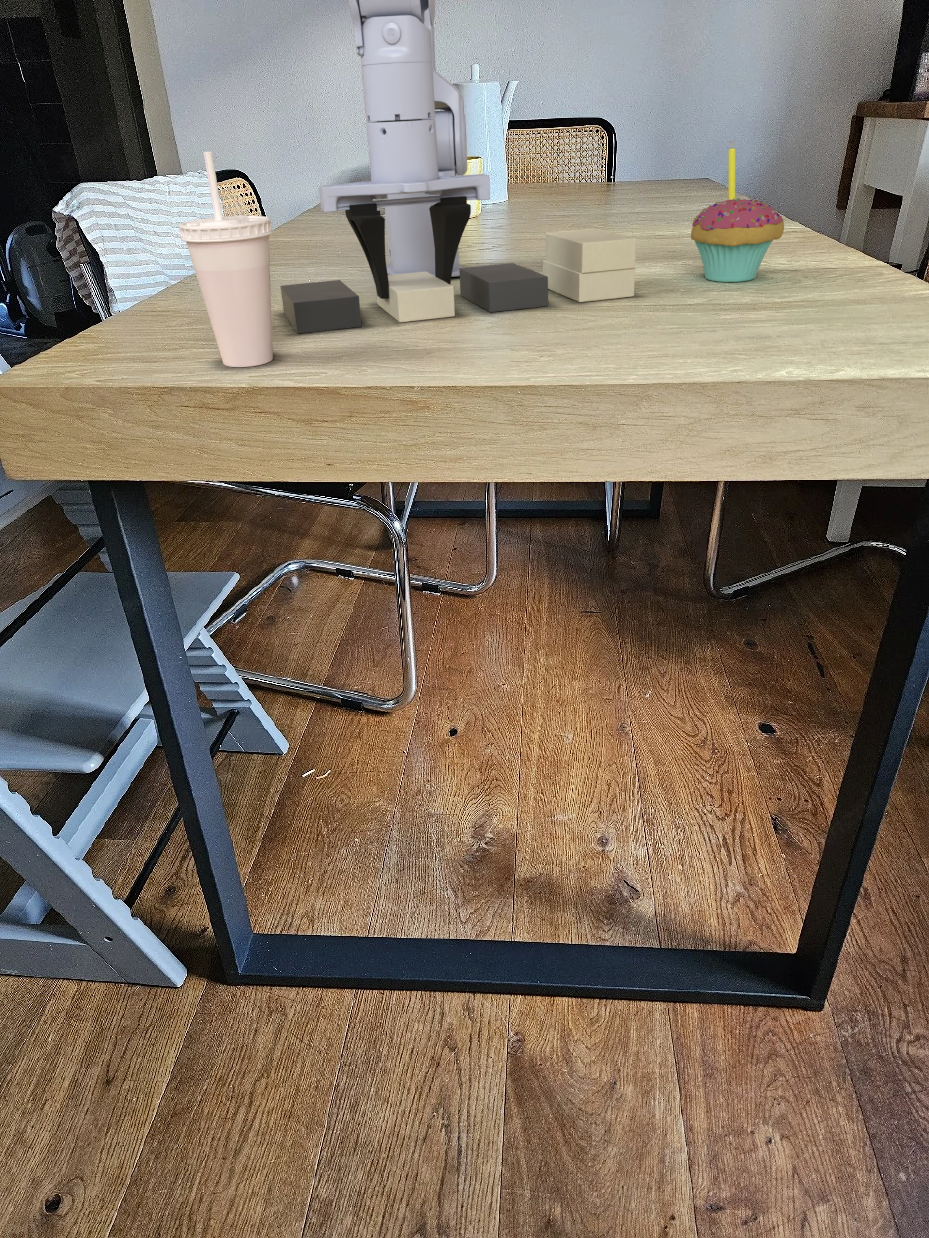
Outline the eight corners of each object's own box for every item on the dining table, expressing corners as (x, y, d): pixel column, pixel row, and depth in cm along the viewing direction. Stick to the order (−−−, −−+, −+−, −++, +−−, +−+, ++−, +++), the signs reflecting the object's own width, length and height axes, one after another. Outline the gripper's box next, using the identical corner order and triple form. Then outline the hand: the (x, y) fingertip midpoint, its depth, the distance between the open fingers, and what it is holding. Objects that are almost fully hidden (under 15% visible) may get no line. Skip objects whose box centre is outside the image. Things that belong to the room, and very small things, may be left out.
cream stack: (542, 287, 88) (542, 232, 85) (593, 281, 89) (595, 227, 86) (579, 303, 80) (581, 243, 77) (635, 296, 81) (638, 238, 79)
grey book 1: (284, 314, 82) (280, 285, 80) (343, 307, 83) (339, 279, 82) (297, 333, 74) (293, 302, 73) (362, 326, 75) (358, 295, 74)
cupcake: (669, 277, 89) (678, 141, 83) (737, 267, 92) (751, 136, 86) (725, 289, 82) (739, 143, 76) (796, 279, 85) (815, 137, 79)
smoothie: (186, 367, 66) (143, 155, 59) (243, 347, 71) (209, 149, 63) (253, 375, 63) (217, 153, 56) (308, 353, 68) (280, 147, 61)
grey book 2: (460, 295, 86) (459, 268, 84) (514, 290, 87) (513, 262, 86) (490, 312, 78) (489, 282, 77) (548, 306, 79) (548, 276, 78)
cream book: (377, 304, 84) (374, 276, 82) (428, 299, 85) (426, 271, 84) (399, 322, 76) (397, 292, 75) (455, 316, 77) (453, 286, 76)
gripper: (321, 126, 68) (341, 310, 75) (499, 116, 71) (503, 293, 78) (307, 125, 74) (327, 296, 81) (473, 116, 77) (479, 280, 84)
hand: (413, 294), depth 80 cm, fingers closed on cream book, 5 cm apart
